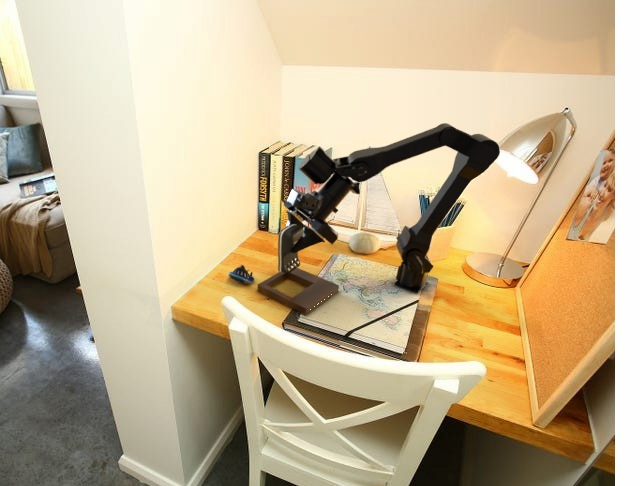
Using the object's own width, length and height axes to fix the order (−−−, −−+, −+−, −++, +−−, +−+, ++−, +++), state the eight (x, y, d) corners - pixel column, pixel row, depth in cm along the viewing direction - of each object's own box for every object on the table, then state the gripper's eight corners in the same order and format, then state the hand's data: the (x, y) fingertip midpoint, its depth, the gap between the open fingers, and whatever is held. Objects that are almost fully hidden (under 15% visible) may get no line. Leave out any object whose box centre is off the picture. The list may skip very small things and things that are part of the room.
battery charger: (289, 276, 99) (290, 235, 93) (277, 272, 101) (277, 231, 95) (304, 265, 103) (306, 225, 97) (292, 261, 105) (293, 221, 99)
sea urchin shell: (378, 253, 117) (361, 232, 117) (357, 265, 123) (341, 245, 123) (386, 241, 124) (370, 221, 124) (366, 253, 130) (351, 234, 129)
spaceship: (256, 273, 113) (255, 260, 109) (253, 289, 108) (252, 276, 105) (231, 272, 114) (229, 259, 111) (227, 287, 110) (224, 274, 106)
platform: (338, 292, 104) (339, 285, 103) (305, 316, 96) (306, 308, 95) (290, 271, 114) (291, 265, 113) (257, 291, 106) (257, 284, 105)
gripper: (291, 166, 98) (250, 215, 101) (330, 189, 83) (281, 246, 86) (317, 192, 105) (278, 238, 108) (358, 217, 90) (312, 270, 93)
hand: (286, 246), depth 98 cm, fingers closed on battery charger, 6 cm apart
